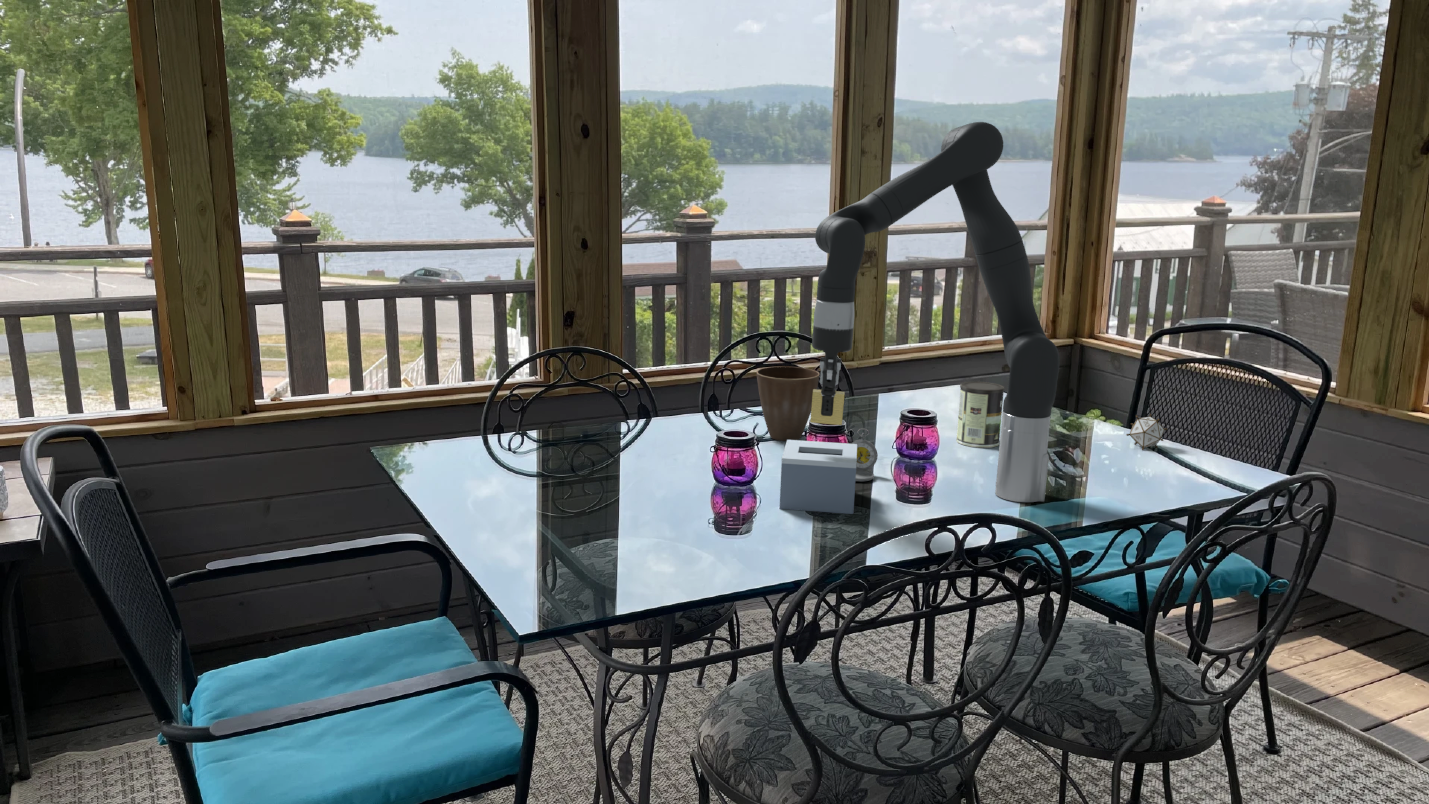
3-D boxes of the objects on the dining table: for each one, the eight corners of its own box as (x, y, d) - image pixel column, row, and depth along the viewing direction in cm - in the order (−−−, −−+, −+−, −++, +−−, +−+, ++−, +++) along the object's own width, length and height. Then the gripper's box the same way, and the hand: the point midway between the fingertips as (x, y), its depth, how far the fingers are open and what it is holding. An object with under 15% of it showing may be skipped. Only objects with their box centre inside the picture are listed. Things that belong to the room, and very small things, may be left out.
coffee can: (993, 437, 260) (998, 381, 257) (1004, 448, 250) (1009, 390, 247) (951, 436, 260) (956, 380, 257) (960, 447, 250) (965, 389, 247)
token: (841, 422, 204) (844, 391, 202) (841, 425, 201) (844, 394, 200) (810, 419, 204) (813, 389, 203) (810, 422, 202) (812, 391, 201)
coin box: (854, 491, 213) (857, 444, 211) (853, 514, 200) (856, 463, 198) (784, 487, 215) (787, 439, 213) (779, 508, 202) (781, 458, 199)
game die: (1151, 464, 254) (1177, 438, 247) (1119, 451, 254) (1144, 424, 247) (1148, 438, 261) (1173, 412, 254) (1117, 425, 260) (1141, 399, 253)
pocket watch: (849, 483, 219) (851, 437, 217) (834, 472, 227) (836, 427, 224) (885, 481, 221) (888, 435, 219) (869, 470, 229) (872, 425, 227)
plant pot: (794, 449, 244) (797, 381, 240) (741, 437, 253) (744, 372, 249) (827, 437, 256) (831, 372, 252) (776, 426, 264) (779, 363, 261)
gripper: (853, 331, 192) (846, 424, 195) (853, 320, 205) (846, 407, 209) (812, 328, 192) (805, 420, 196) (814, 318, 206) (808, 404, 210)
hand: (826, 413), depth 203 cm, fingers closed on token, 2 cm apart
